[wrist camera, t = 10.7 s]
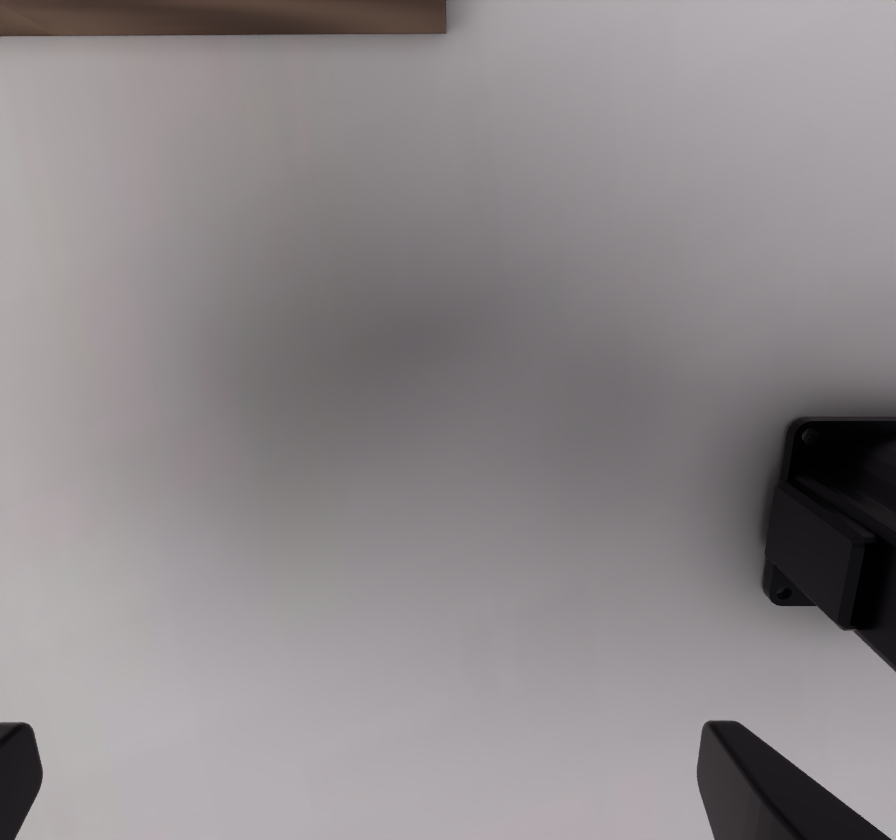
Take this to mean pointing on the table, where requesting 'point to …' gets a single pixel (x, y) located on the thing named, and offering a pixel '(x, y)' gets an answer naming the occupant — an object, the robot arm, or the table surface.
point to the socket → (220, 17)
